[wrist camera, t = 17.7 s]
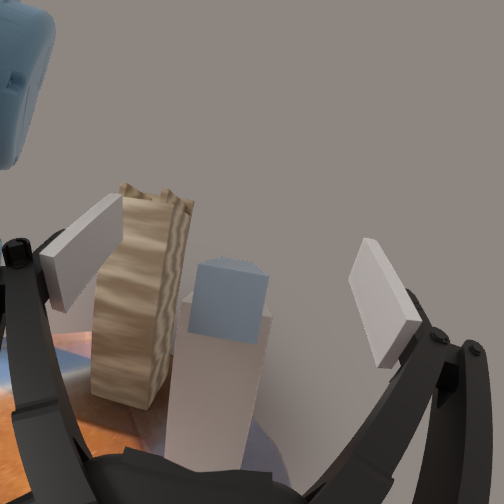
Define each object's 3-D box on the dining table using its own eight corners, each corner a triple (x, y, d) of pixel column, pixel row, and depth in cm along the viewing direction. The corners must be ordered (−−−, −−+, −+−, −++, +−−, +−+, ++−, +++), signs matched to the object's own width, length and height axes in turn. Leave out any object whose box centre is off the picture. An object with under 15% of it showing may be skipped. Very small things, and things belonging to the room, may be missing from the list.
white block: (233, 496, 26) (272, 317, 26) (163, 483, 26) (181, 301, 26) (234, 449, 36) (263, 299, 36) (177, 439, 36) (196, 288, 36)
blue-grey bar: (256, 344, 17) (269, 276, 17) (187, 332, 17) (198, 263, 17) (246, 291, 41) (251, 262, 41) (216, 286, 41) (221, 256, 41)
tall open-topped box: (147, 410, 42) (178, 183, 42) (90, 393, 41) (115, 175, 42) (167, 374, 58) (194, 201, 58) (122, 363, 57) (145, 194, 58)
